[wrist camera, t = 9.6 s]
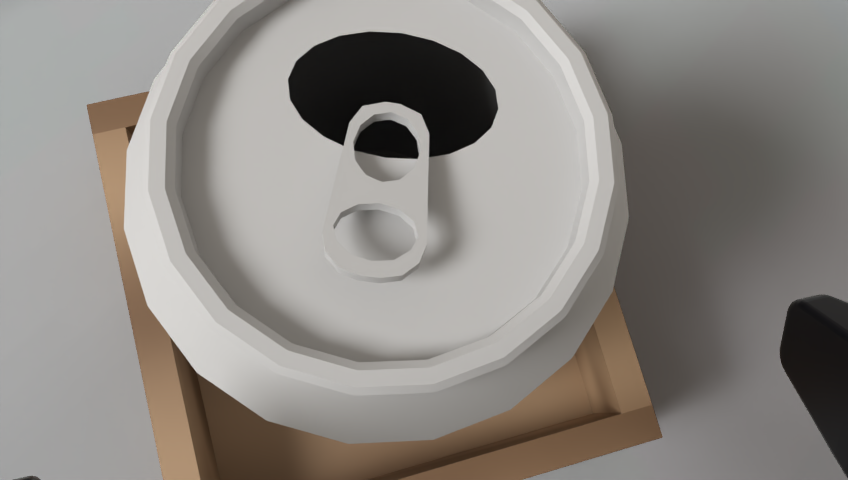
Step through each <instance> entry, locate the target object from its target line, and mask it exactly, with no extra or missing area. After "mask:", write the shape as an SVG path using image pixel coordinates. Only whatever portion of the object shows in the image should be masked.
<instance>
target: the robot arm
mask: <svg viewBox="0 0 848 480" xmlns="http://www.w3.org/2000/svg"><path fill="white" fill-rule="evenodd" d="M780 359H781V363H782V366H783V368H784V370H785V372H786V374H787V376H788V377H789V379H790V381H791V382H792V384H793V386H794V388H795V389H796V391H797V393H798V395H799V396H800V398H801V400H802V402H803V403H804V405H805V407H806V408H807V410H808V412H809V414H810V415H811V417H812V419H813V421H814V422H815V424H816V426H817V428H818V429H819V431H820V433H821V434H822V436H823V438H824V440H825V441H826V443H827V445H828V447H829V448H830V450H831V452H832V454H833V455H834V457H835V459H836V460H837V462H838V463H839V465H840V467H841V468H842V470H843V471H844V473H845V474H846V476H847V477H848V303H847V302H844V301H842V300H839V299H837V298H834V297H831V296H829V295H816V296H812V297H807V298H803V299H798V300H796V301H794V302H792V304H791V305H790V306H789V308H788V311H787V316H786V321H785V326H784V331H783V336H782V341H781V346H780ZM14 480H40V479H39V478H38V477H36V476H27V477H23V478H19V479H14Z"/></svg>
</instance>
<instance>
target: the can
mask: <svg viewBox="0 0 848 480" xmlns="http://www.w3.org/2000/svg"><path fill="white" fill-rule="evenodd" d="M628 220H629V211H628V201H627V191H626V181H625V171H624V161H623V151H622V143H621V141H620V138H619V136H618V134H617V132H616V129H615V127H614V123H613V115H612V113H611V111H610V108H609V106H608V104H607V101H606V99H605V97H604V95H603V92H602V90H601V88H600V85H599V83H598V81H597V78H596V76H595V74H594V72H593V69H592V67H591V65H590V62H589V60H588V58H587V56H586V53H585V52H584V50H583V49H582V48H581V47H580V46H579V45H578V43H577V42H576V41H575V40H574V39H573V38H572V37H571V35H570V34H569V33H568V32H567V31H566V30H565V28H564V27H563V26H562V25H561V24H560V23H559V21H558V20H557V19H556V18H555V17H554V16H553V14H552V13H551V12H550V11H549V10H548V9H547V7H546V6H545V5H544V4H543V3H542V2H541V0H214V1H213V2H212V3H211V5H210V6H209V7H208V8H207V9H206V11H205V12H204V13H203V14H202V16H201V17H200V18H199V19H198V20H197V22H196V23H195V24H194V25H193V26H192V28H191V29H190V30H189V31H188V32H187V34H186V35H185V36H184V37H183V38H182V40H181V41H180V42H179V43H178V45H177V46H176V47H175V48H174V49H173V51H172V52H171V53H170V55H169V58H168V60H167V63H166V65H165V66H164V68H163V69H162V70H161V71H160V73H159V74H158V75H157V76H156V77H155V79H154V81H153V84H152V86H151V89H150V91H149V94H148V97H147V99H146V102H145V104H144V107H143V110H142V112H141V115H140V117H139V120H138V123H137V125H136V128H135V130H134V133H133V135H132V138H131V141H130V143H129V146H128V148H127V157H126V183H125V210H124V231H125V234H126V238H127V241H128V244H129V247H130V251H131V254H132V257H133V260H134V264H135V267H136V270H137V273H138V277H139V280H140V283H141V286H142V290H143V293H144V296H145V299H146V303H147V306H148V307H149V309H150V310H151V311H152V313H153V314H154V315H155V317H156V318H157V319H158V321H159V322H160V323H161V325H162V326H163V328H164V329H165V330H166V332H167V333H168V334H169V336H170V337H171V338H172V340H173V341H174V342H175V344H176V345H177V347H178V348H179V349H180V351H181V352H182V353H183V355H184V356H185V357H186V359H187V360H188V361H189V363H190V364H191V366H192V367H193V368H194V370H195V371H196V372H197V373H198V374H200V375H201V376H202V377H204V378H205V379H207V380H208V381H210V382H211V383H213V384H214V385H215V386H217V387H218V388H220V389H221V390H223V391H224V392H226V393H227V394H229V395H230V396H231V397H233V398H234V399H236V400H237V401H239V402H240V403H242V404H243V405H244V406H246V407H247V408H249V409H250V410H252V411H253V412H255V413H256V414H258V415H259V416H260V417H262V418H263V419H265V420H266V421H270V422H273V423H277V424H280V425H284V426H287V427H291V428H294V429H298V430H301V431H305V432H308V433H312V434H315V435H319V436H322V437H326V438H329V439H333V440H336V441H340V442H343V443H347V444H357V443H378V442H399V441H420V440H434V439H437V438H439V437H442V436H444V435H447V434H450V433H452V432H455V431H457V430H460V429H462V428H465V427H467V426H470V425H473V424H475V423H478V422H480V421H483V420H485V419H488V418H491V417H493V416H496V415H498V414H501V413H503V412H506V411H509V410H511V409H512V408H513V407H514V406H516V405H517V404H518V403H519V402H520V401H521V400H523V399H524V398H525V397H526V396H527V395H529V394H530V393H531V392H532V391H533V390H535V389H536V388H537V387H538V386H539V385H541V384H542V383H543V382H544V381H545V380H547V379H548V378H549V377H550V376H551V375H553V374H554V373H555V372H556V371H557V370H558V369H560V368H561V367H562V366H563V365H564V364H566V363H567V362H568V361H569V360H570V359H572V357H573V356H574V354H575V353H576V351H577V349H578V348H579V346H580V344H581V343H582V341H583V339H584V338H585V336H586V334H587V333H588V331H589V329H590V328H591V326H592V325H593V323H594V321H595V320H596V318H597V316H598V315H599V313H600V311H601V310H602V308H603V306H604V305H605V303H606V301H607V300H608V298H609V297H610V295H611V293H612V292H613V287H614V283H615V278H616V274H617V269H618V265H619V260H620V256H621V252H622V247H623V243H624V238H625V234H626V229H627V225H628Z"/></svg>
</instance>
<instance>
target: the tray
mask: <svg viewBox="0 0 848 480" xmlns="http://www.w3.org/2000/svg"><path fill="white" fill-rule="evenodd" d="M148 94H149V92H144V93H139V94H135V95H130V96H125V97H121V98H116V99H112V100H107V101H102V102H98V103H93V104H88V105H87V109H88V114H89V119H90V124H91V129H92V134H93V138H94V143H95V148H96V153H97V158H98V163H99V168H100V173H101V178H102V182H103V187H104V192H105V197H106V202H107V207H108V212H109V217H110V222H111V227H112V231H113V236H114V241H115V246H116V251H117V256H118V261H119V266H120V271H121V276H122V280H123V285H124V290H125V295H126V300H127V305H128V310H129V315H130V320H131V324H132V329H133V334H134V339H135V344H136V349H137V354H138V359H139V364H140V369H141V373H142V378H143V383H144V388H145V393H146V398H147V403H148V408H149V413H150V418H151V422H152V427H153V432H154V437H155V442H156V447H157V452H158V457H159V462H160V466H161V471H162V476H163V480H522V479H526V478H529V477H532V476H536V475H539V474H542V473H546V472H549V471H552V470H556V469H559V468H562V467H566V466H569V465H572V464H576V463H579V462H582V461H585V460H589V459H592V458H595V457H599V456H602V455H605V454H609V453H612V452H615V451H619V450H622V449H625V448H629V447H632V446H635V445H639V444H642V443H645V442H649V441H652V440H655V439H659V438H662V434H661V431H660V427H659V424H658V421H657V418H656V415H655V412H654V409H653V406H652V403H651V400H650V396H649V393H648V390H647V387H646V384H645V381H644V378H643V375H642V372H641V369H640V365H639V362H638V359H637V356H636V353H635V350H634V347H633V344H632V341H631V338H630V335H629V331H628V328H627V325H626V322H625V319H624V316H623V313H622V310H621V307H620V304H619V300H618V297H617V294H616V291H615V288H614V287H613V292H612V293H611V295H610V297H609V298H608V300H607V301H606V303H605V305H604V306H603V308H602V310H601V311H600V313H599V315H598V316H597V318H596V320H595V321H594V323H593V325H592V326H591V328H590V329H589V331H588V333H587V334H586V336H585V338H584V339H583V341H582V343H581V344H580V346H579V348H578V349H577V351H576V353H575V354H574V356H573V357H572V359H570V360H569V361H568V362H567V363H566V364H564V365H563V366H562V367H561V368H560V369H558V370H557V371H556V372H555V373H554V374H553V375H551V376H550V377H549V378H548V379H547V380H545V381H544V382H543V383H542V384H541V385H539V386H538V387H537V388H536V389H535V390H533V391H532V392H531V393H530V394H529V395H527V396H526V397H525V398H524V399H523V400H521V401H520V402H519V403H518V404H517V405H516V406H514V407H513V408H512V409H511V410H509V411H506V412H503V413H501V414H498V415H496V416H493V417H491V418H488V419H485V420H483V421H480V422H478V423H475V424H473V425H470V426H467V427H465V428H462V429H460V430H457V431H455V432H452V433H450V434H447V435H444V436H442V437H439V438H437V439H434V440H420V441H399V442H378V443H357V444H347V443H343V442H340V441H336V440H333V439H329V438H326V437H322V436H319V435H315V434H312V433H308V432H305V431H301V430H298V429H294V428H291V427H287V426H284V425H280V424H277V423H273V422H270V421H266V420H265V419H263V418H262V417H260V416H259V415H258V414H256V413H255V412H253V411H252V410H250V409H249V408H247V407H246V406H244V405H243V404H242V403H240V402H239V401H237V400H236V399H234V398H233V397H231V396H230V395H229V394H227V393H226V392H224V391H223V390H221V389H220V388H218V387H217V386H215V385H214V384H213V383H211V382H210V381H208V380H207V379H205V378H204V377H202V376H201V375H200V374H198V373H197V372H196V371H195V370H194V368H193V367H192V366H191V364H190V363H189V361H188V360H187V359H186V357H185V356H184V355H183V353H182V352H181V351H180V349H179V348H178V347H177V345H176V344H175V342H174V341H173V340H172V338H171V337H170V336H169V334H168V333H167V332H166V330H165V329H164V328H163V326H162V325H161V323H160V322H159V321H158V319H157V318H156V317H155V315H154V314H153V313H152V311H151V310H150V309H149V307H148V306H147V303H146V299H145V296H144V293H143V290H142V286H141V283H140V280H139V277H138V273H137V270H136V267H135V264H134V260H133V257H132V254H131V251H130V247H129V244H128V241H127V238H126V234H125V231H124V210H125V183H126V157H127V148H128V146H129V143H130V141H131V138H132V135H133V133H134V130H135V128H136V125H137V123H138V120H139V117H140V115H141V112H142V110H143V107H144V104H145V102H146V99H147V97H148Z"/></svg>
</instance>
